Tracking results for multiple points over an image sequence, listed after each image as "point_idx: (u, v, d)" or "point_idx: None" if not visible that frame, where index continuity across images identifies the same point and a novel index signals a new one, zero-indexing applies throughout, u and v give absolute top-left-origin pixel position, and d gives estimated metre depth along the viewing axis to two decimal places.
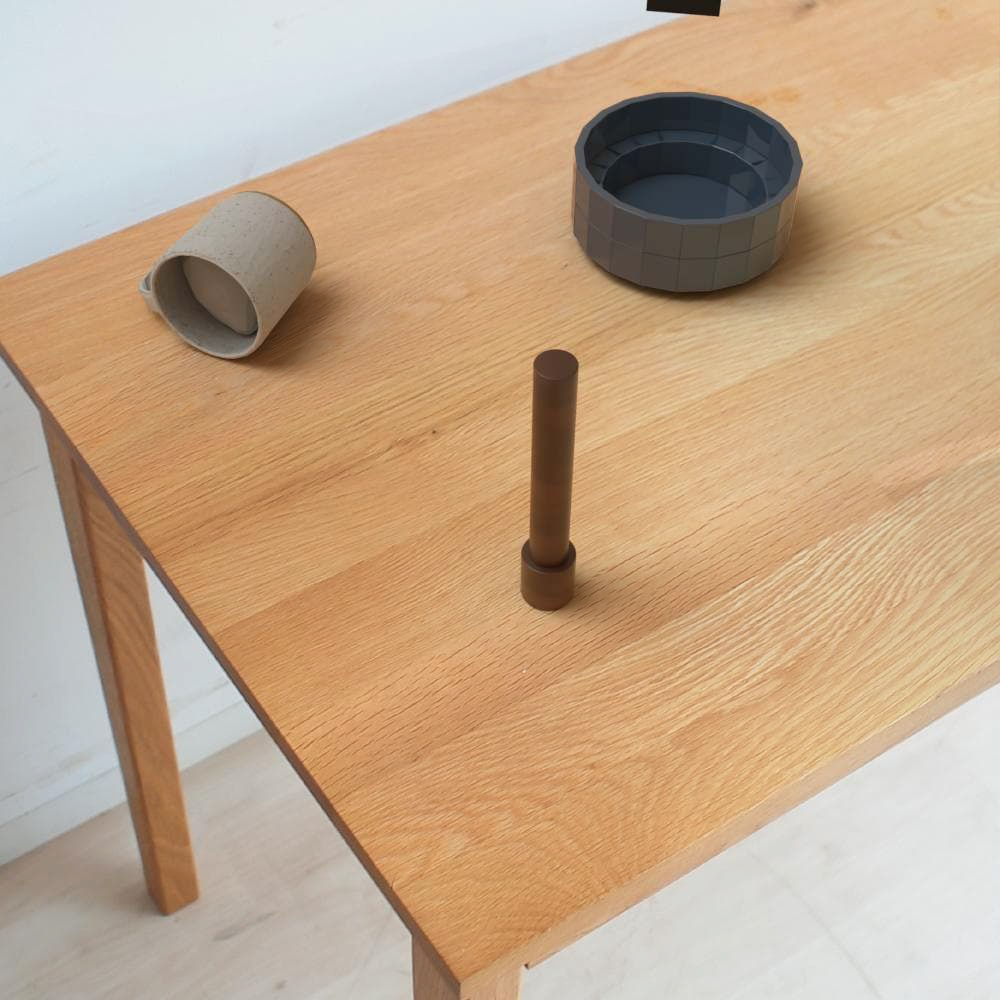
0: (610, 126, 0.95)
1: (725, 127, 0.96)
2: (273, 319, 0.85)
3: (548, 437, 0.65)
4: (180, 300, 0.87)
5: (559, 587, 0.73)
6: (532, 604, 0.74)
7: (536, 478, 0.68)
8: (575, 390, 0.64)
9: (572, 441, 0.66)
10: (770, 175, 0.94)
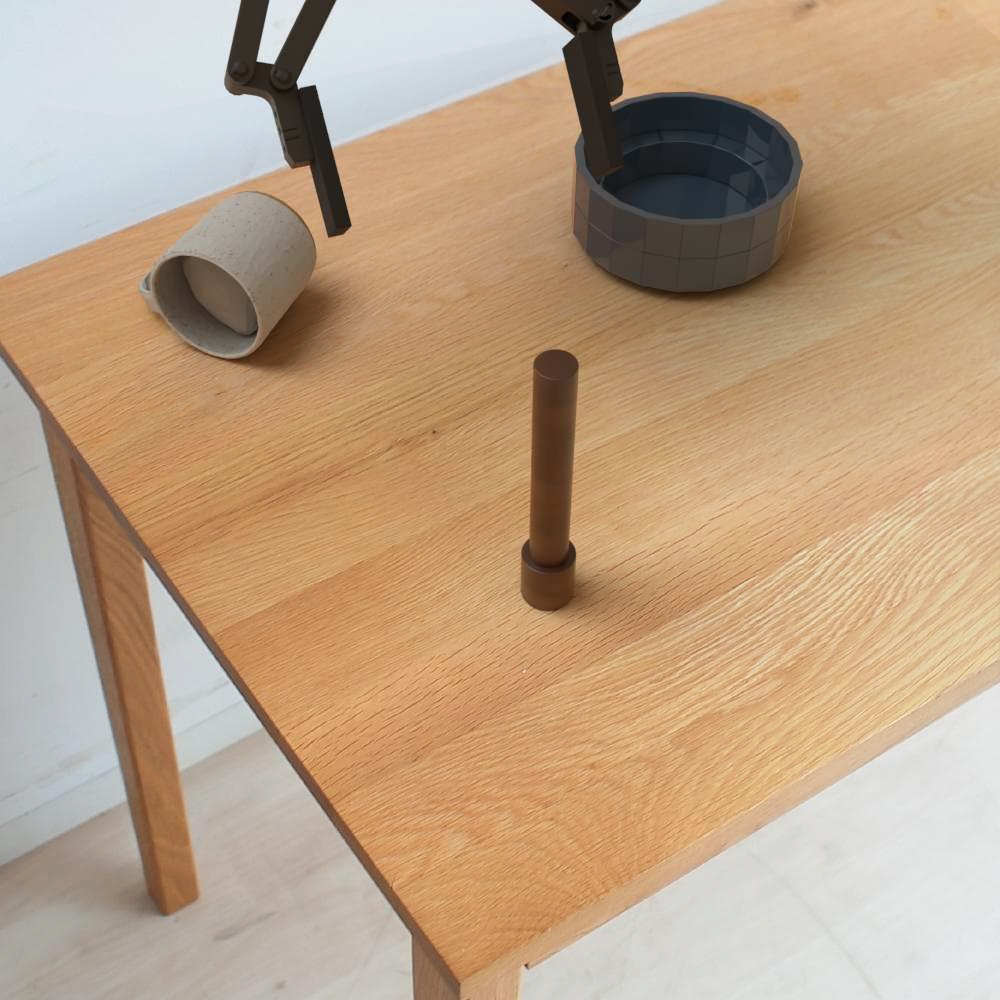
0: None
1: (725, 127, 0.96)
2: (273, 319, 0.85)
3: (548, 437, 0.65)
4: (180, 300, 0.87)
5: (559, 587, 0.73)
6: (532, 604, 0.74)
7: (536, 478, 0.68)
8: (575, 390, 0.64)
9: (572, 441, 0.66)
10: (770, 175, 0.94)
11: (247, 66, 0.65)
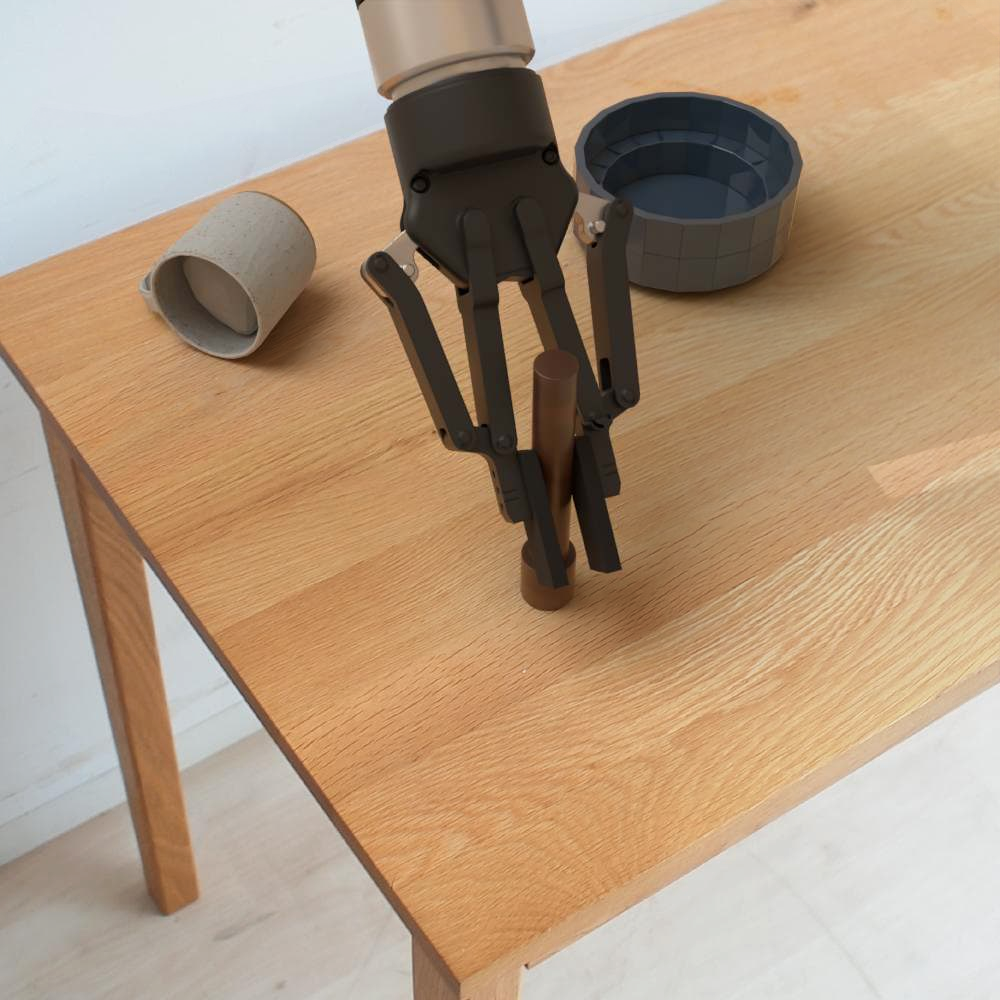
0: (610, 126, 0.95)
1: (725, 127, 0.96)
2: (273, 319, 0.85)
3: (548, 437, 0.65)
4: (180, 300, 0.87)
5: None
6: (532, 604, 0.74)
7: None
8: (575, 390, 0.64)
9: (572, 441, 0.66)
10: (770, 175, 0.94)
11: (468, 431, 0.66)
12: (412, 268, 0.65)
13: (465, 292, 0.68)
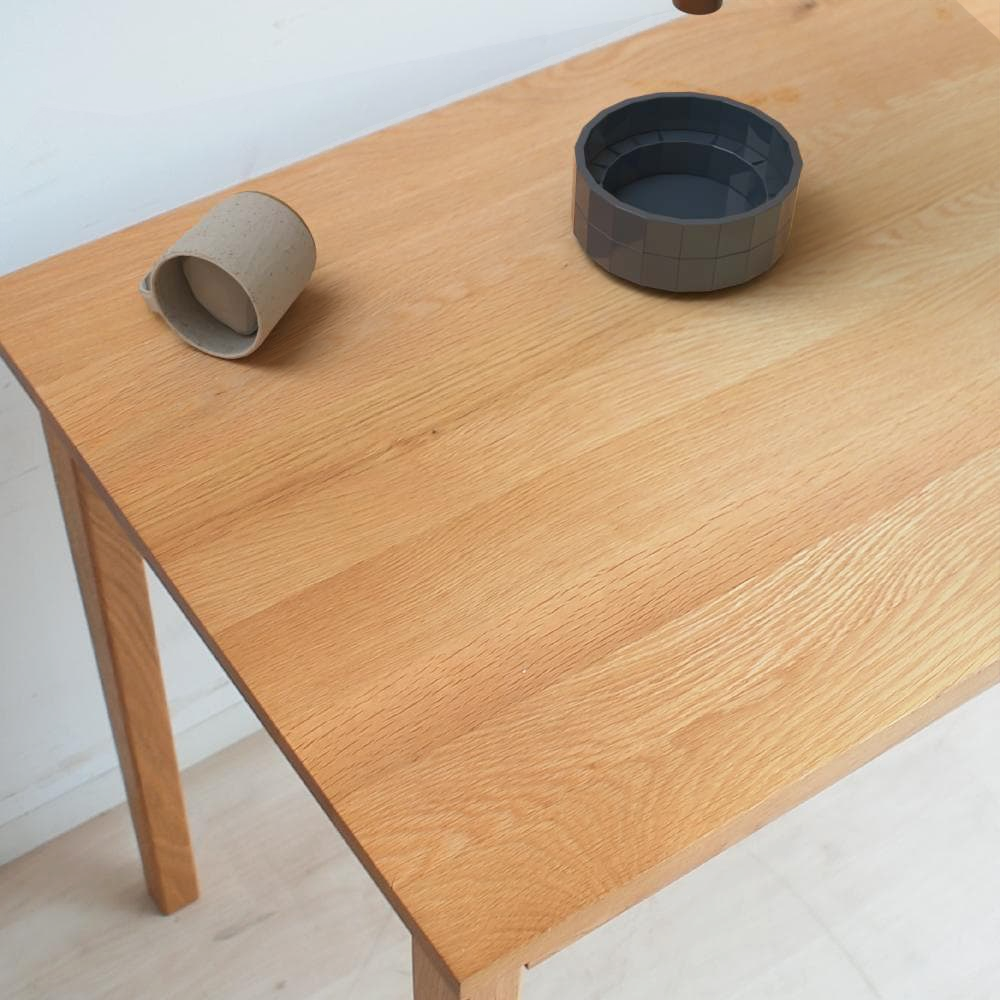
0: (610, 126, 0.95)
1: (725, 127, 0.96)
2: (273, 319, 0.85)
3: None
4: (180, 300, 0.87)
5: None
6: (684, 9, 0.79)
7: None
8: None
9: None
10: (770, 175, 0.94)
11: None
12: None
13: None
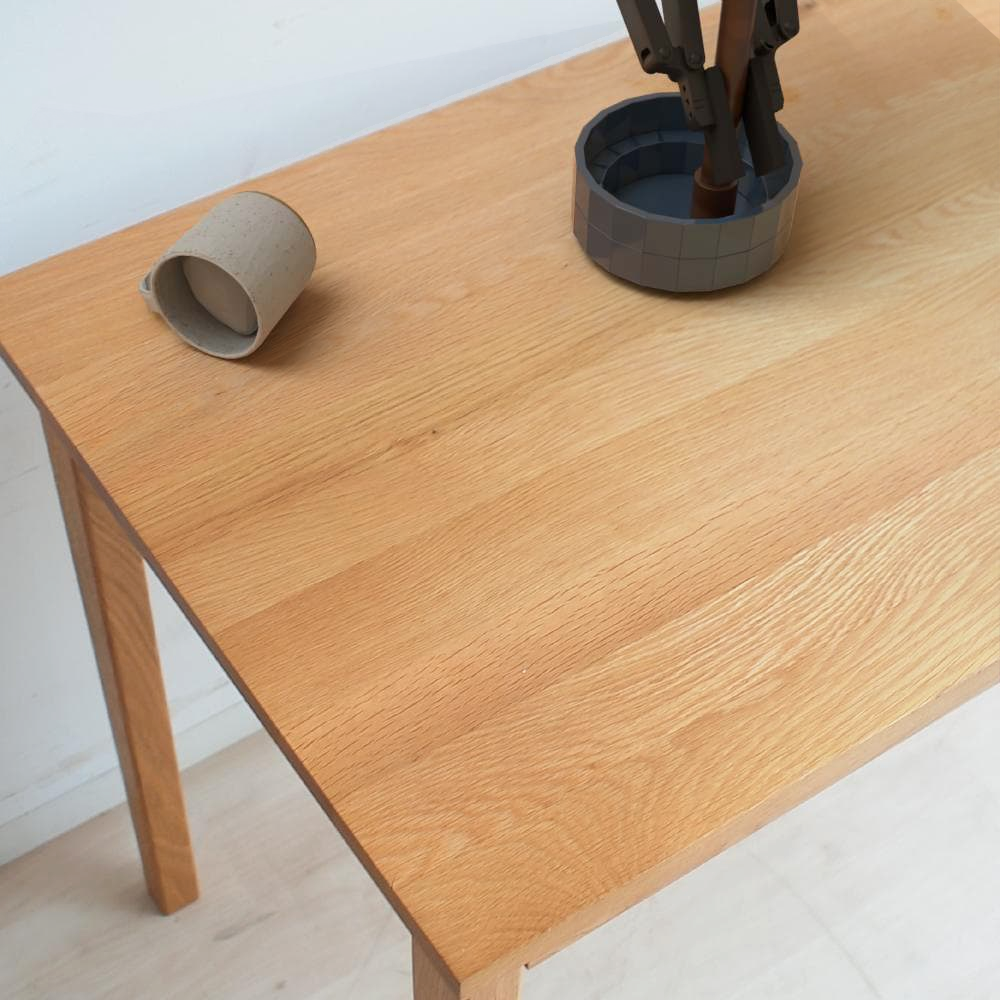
0: (610, 126, 0.95)
1: None
2: (273, 319, 0.85)
3: (731, 50, 0.83)
4: (180, 300, 0.87)
5: (725, 205, 0.90)
6: None
7: None
8: (756, 6, 0.81)
9: (748, 57, 0.83)
10: (770, 175, 0.94)
11: (667, 48, 0.83)
12: None
13: None
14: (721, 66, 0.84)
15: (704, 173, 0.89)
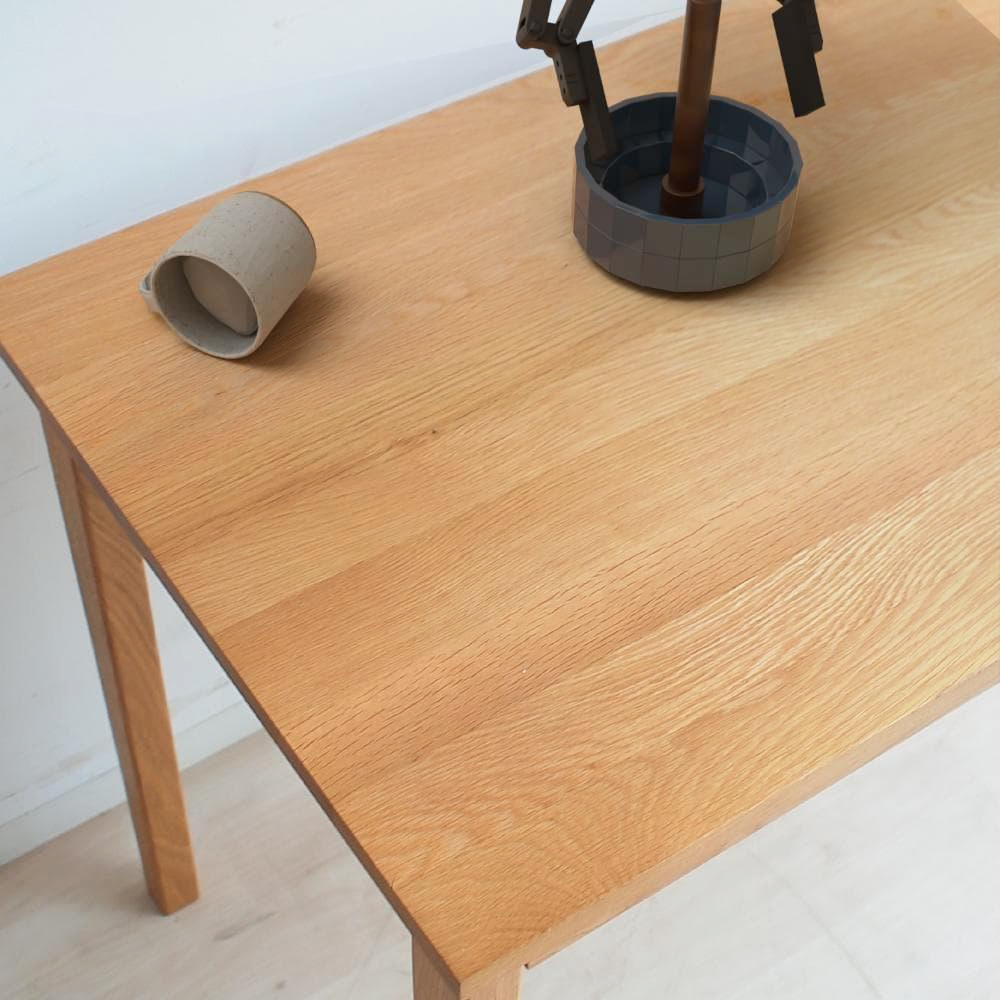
0: None
1: (725, 127, 0.96)
2: (273, 319, 0.85)
3: (695, 60, 0.85)
4: (180, 300, 0.87)
5: (692, 210, 0.93)
6: None
7: (682, 102, 0.87)
8: (718, 17, 0.83)
9: (712, 67, 0.86)
10: (770, 175, 0.94)
11: (541, 25, 0.83)
12: None
13: None
14: (685, 75, 0.86)
15: (671, 179, 0.92)
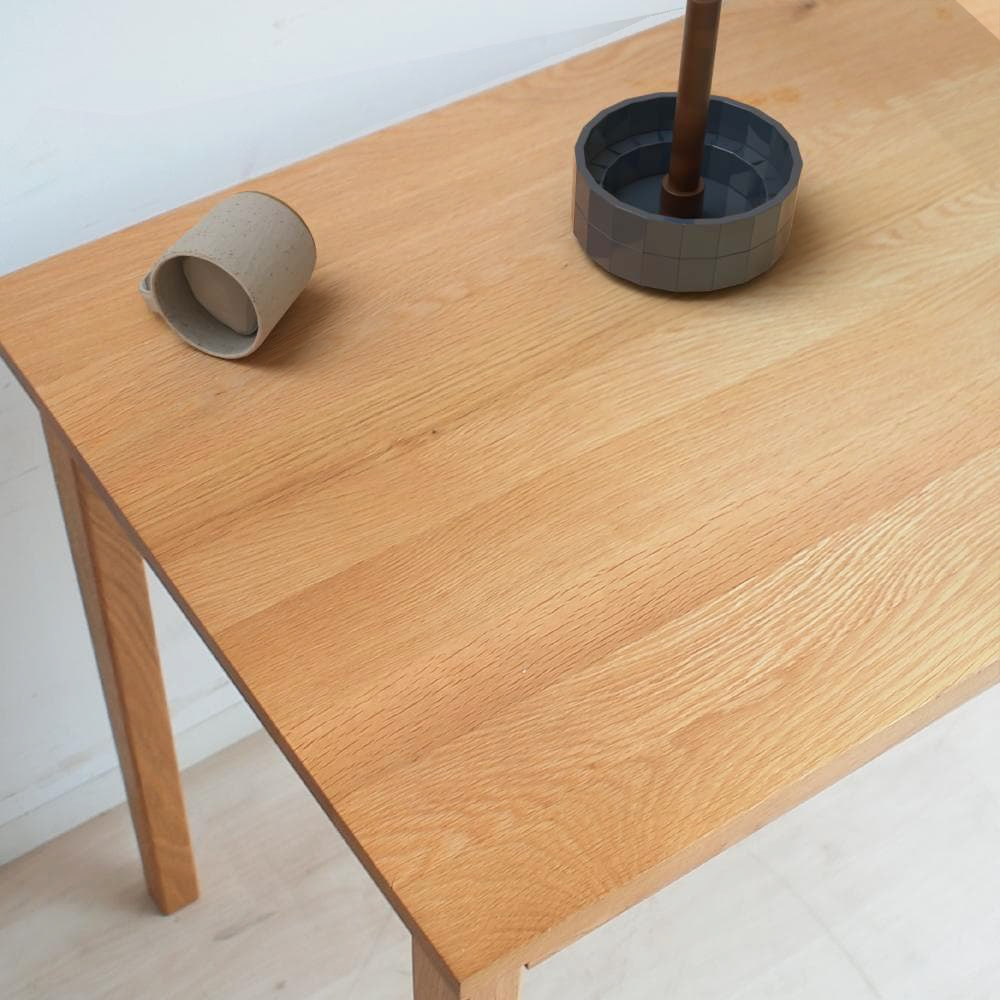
0: (610, 126, 0.95)
1: (725, 127, 0.96)
2: (273, 319, 0.85)
3: (695, 60, 0.85)
4: (180, 300, 0.87)
5: (692, 210, 0.93)
6: None
7: (682, 102, 0.87)
8: (718, 17, 0.83)
9: (712, 67, 0.86)
10: (770, 175, 0.94)
11: None
12: None
13: None
14: (685, 75, 0.86)
15: (671, 179, 0.92)
